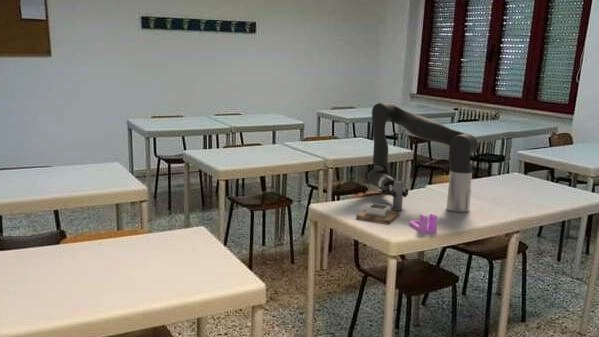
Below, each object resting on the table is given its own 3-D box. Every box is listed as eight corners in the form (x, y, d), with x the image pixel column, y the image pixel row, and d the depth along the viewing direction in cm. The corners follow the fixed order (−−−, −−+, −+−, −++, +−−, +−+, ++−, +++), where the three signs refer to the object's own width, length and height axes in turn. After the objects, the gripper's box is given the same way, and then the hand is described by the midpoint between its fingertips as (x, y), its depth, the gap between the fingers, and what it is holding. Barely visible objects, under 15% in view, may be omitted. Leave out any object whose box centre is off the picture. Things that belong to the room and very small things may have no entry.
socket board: (399, 215, 226) (400, 204, 225) (389, 224, 214) (390, 213, 213) (367, 210, 232) (367, 200, 231) (356, 218, 219) (356, 208, 218)
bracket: (436, 233, 205) (437, 215, 203) (423, 234, 203) (424, 216, 202) (419, 222, 217) (420, 206, 216) (406, 223, 215) (407, 206, 214)
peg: (403, 208, 234) (404, 181, 232) (400, 210, 231) (402, 183, 228) (394, 207, 236) (395, 180, 233) (391, 209, 232) (393, 182, 230)
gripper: (373, 177, 244) (384, 186, 227) (404, 177, 246) (417, 186, 229) (373, 193, 245) (383, 203, 229) (403, 193, 247) (415, 203, 231)
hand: (400, 194), depth 229 cm, fingers closed on peg, 4 cm apart
